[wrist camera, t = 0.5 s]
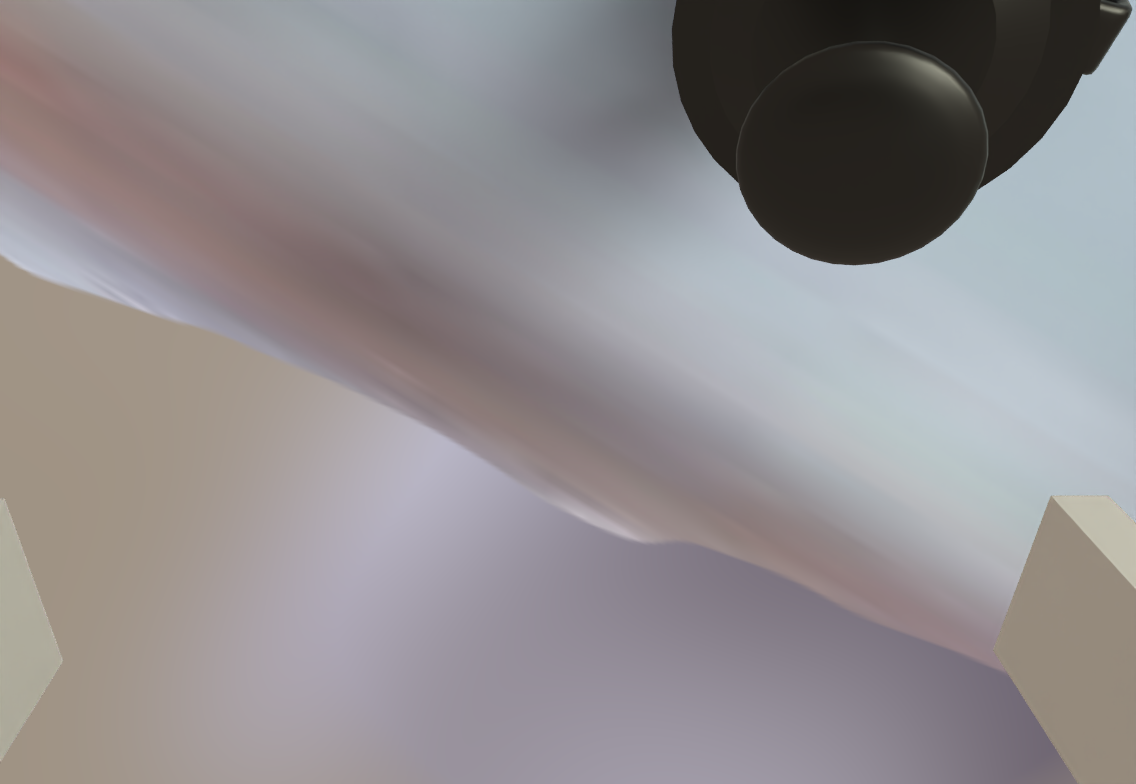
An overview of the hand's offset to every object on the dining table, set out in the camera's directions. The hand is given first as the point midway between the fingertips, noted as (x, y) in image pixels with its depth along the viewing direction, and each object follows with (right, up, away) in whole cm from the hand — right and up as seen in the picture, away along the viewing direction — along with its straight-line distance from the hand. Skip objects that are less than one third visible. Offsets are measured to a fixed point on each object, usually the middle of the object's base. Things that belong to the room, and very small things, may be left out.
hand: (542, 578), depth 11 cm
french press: (+12, +21, +20) cm, 32 cm away
